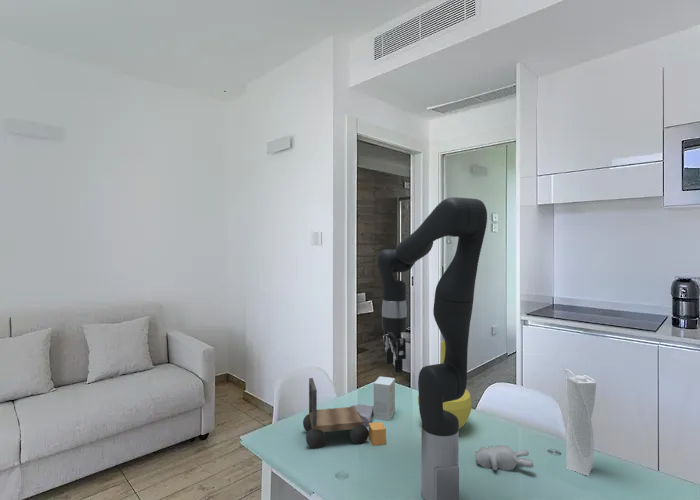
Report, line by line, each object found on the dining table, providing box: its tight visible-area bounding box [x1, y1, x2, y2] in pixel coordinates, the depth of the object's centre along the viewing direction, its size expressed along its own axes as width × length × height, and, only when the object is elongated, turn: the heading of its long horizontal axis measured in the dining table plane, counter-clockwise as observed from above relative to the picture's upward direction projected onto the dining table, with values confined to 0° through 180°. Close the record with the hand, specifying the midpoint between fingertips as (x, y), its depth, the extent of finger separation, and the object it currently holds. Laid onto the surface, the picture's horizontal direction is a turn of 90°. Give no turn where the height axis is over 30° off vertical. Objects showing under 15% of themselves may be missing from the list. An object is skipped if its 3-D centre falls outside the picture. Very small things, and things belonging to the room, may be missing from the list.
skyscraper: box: [564, 368, 597, 478], centre depth 112 cm, size 8×8×28 cm
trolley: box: [302, 377, 369, 449], centre depth 129 cm, size 20×12×18 cm, turn 102°
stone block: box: [349, 403, 374, 427], centre depth 143 cm, size 12×5×10 cm
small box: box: [373, 376, 396, 421], centre depth 147 cm, size 8×6×13 cm
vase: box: [417, 340, 473, 430], centre depth 137 cm, size 18×18×30 cm
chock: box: [368, 421, 387, 446], centre depth 127 cm, size 5×4×5 cm
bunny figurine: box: [474, 444, 534, 471], centre depth 113 cm, size 10×5×15 cm
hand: (393, 367), depth 120 cm, fingers open, 8 cm apart
